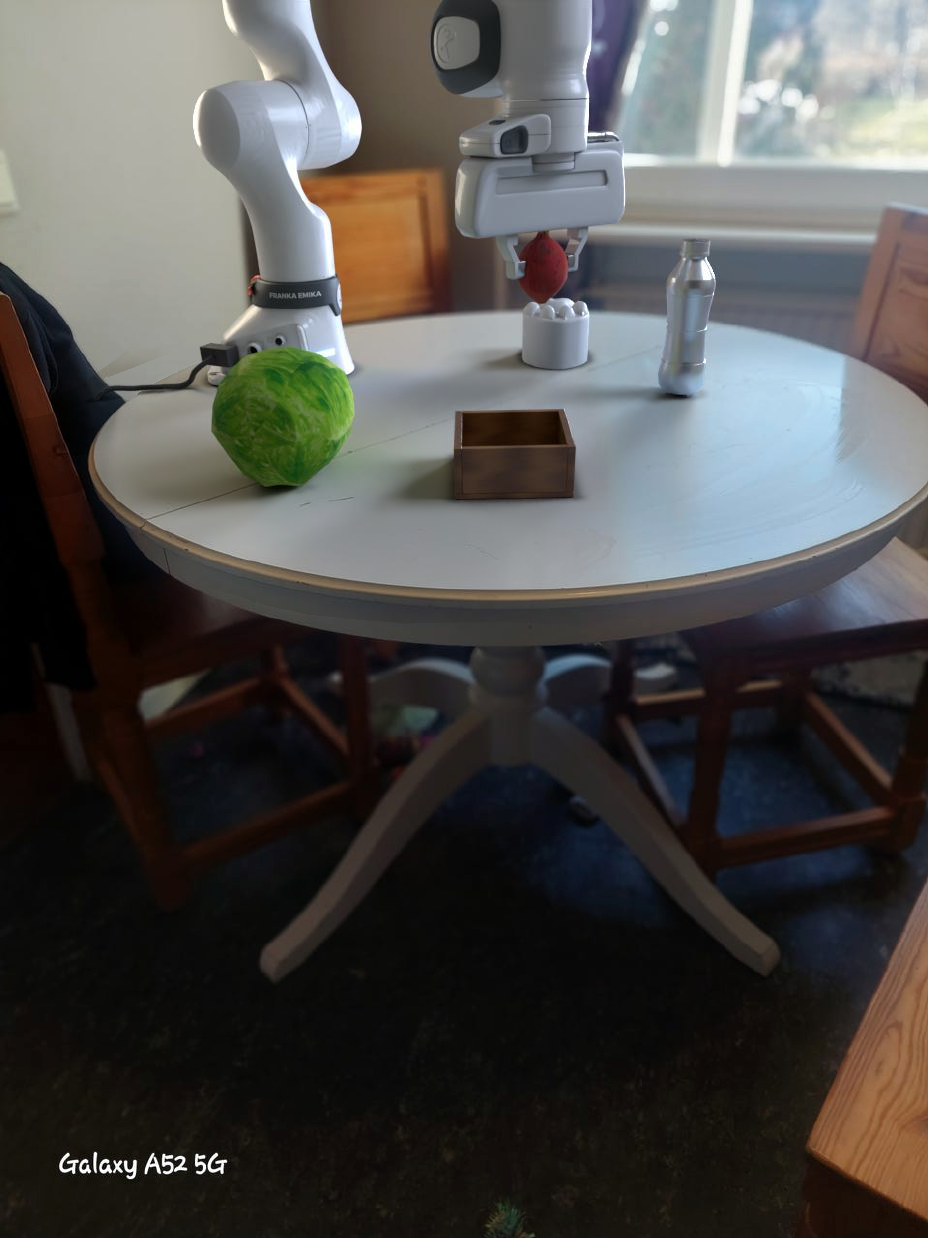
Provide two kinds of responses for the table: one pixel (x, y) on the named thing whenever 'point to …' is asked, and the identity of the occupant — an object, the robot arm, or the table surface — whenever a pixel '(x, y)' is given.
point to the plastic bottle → (687, 319)
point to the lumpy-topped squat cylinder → (555, 334)
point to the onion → (543, 268)
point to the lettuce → (283, 415)
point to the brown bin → (513, 454)
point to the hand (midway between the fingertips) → (541, 274)
